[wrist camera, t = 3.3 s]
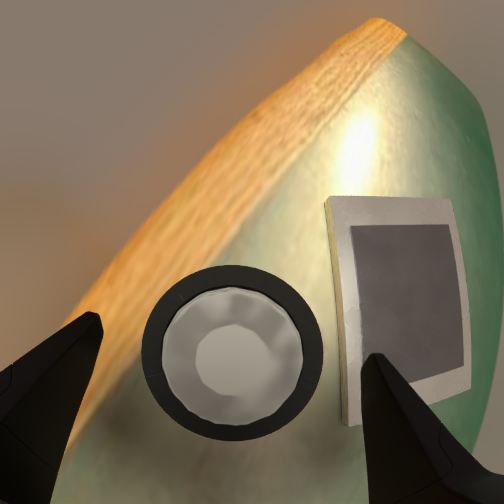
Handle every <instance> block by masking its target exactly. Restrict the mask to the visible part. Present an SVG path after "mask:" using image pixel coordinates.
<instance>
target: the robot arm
mask: <svg viewBox="0 0 504 504" xmlns="http://www.w3.org/2000/svg"><path fill="white" fill-rule="evenodd" d="M103 334H104V331H103V327H102V323H101V319H100V315H99V314H98V313H94V312H90V311H88V312H85V313H84V314H82V315H81V316H79V317H78V318H77V319H75V320H74V321H72V322H71V323H69V324H68V325H66V326H65V327H63V328H62V329H60V330H59V331H58V332H56V333H55V334H53V335H52V336H50V337H49V338H47V339H46V340H45V341H43V342H42V343H40V344H39V345H38V346H36V347H35V348H34V349H32V350H31V351H29V352H28V353H26V354H25V355H24V356H22V357H21V358H19V359H18V360H16V361H15V362H14V363H13V365H12V364H11V365H9V366H8V367H7V368H5V369H4V370H3V371H1V372H0V504H50V501H51V497H52V493H53V490H54V486H55V482H56V479H57V475H58V471H59V468H60V464H61V461H62V458H63V455H64V451H65V448H66V445H67V442H68V439H69V436H70V433H71V430H72V427H73V424H74V422H75V419H76V416H77V413H78V410H79V408H80V405H81V402H82V400H83V397H84V394H85V392H86V389H87V387H88V384H89V381H90V379H91V376H92V373H93V370H94V366H95V363H96V359H97V356H98V352H99V349H100V346H101V342H102V339H103ZM360 381H361V415H362V424H363V433H364V442H365V453H366V464H367V477H368V492H369V504H504V475H500V474H496V473H492V472H490V471H489V470H487V469H485V468H484V467H483V466H482V465H481V464H480V463H479V462H478V461H477V460H476V459H475V458H474V457H473V456H472V455H471V454H470V453H469V452H468V451H467V450H466V449H465V448H464V447H463V446H462V445H461V444H460V443H459V442H458V441H457V440H456V439H455V437H454V436H453V435H452V434H451V433H450V432H449V431H448V429H447V428H446V427H445V426H444V425H443V423H441V421H440V420H439V419H438V417H437V416H436V415H435V414H434V413H433V411H432V410H431V409H430V408H429V407H428V405H427V404H426V403H425V402H424V401H423V400H422V398H421V397H420V396H419V395H418V394H417V392H416V391H415V390H414V389H413V388H412V387H411V385H410V384H409V383H408V382H407V381H406V380H405V378H404V377H403V376H402V375H401V374H400V373H399V371H398V370H397V369H396V368H395V367H394V366H393V365H392V363H391V362H390V361H389V360H388V359H387V358H386V357H385V355H384V354H382V353H371V354H370V355H369V356H368V358H367V359H366V361H365V362H364V364H363V366H362V368H361V371H360Z"/></svg>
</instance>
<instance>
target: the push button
mask: <svg viewBox="0 0 504 504" xmlns="http://www.w3.org/2000/svg"><path fill="white" fill-rule="evenodd" d="M141 354H142V365H143V371H144V375H145V378H146V381H147V384H148V386H149V388H150V390H151V392H152V394H153V396H154V398H155V399H156V401H157V402H158V404H159V405H160V406H161V407H162V409H163V410H164V411H165V412H166V413H167V414H168V415H169V416H170V417H171V418H172V419H173V420H175V421H176V422H177V423H178V424H180V425H181V426H183V427H185V428H186V429H188V430H190V431H192V432H194V433H196V434H199V435H201V436H204V437H207V438H211V439H216V440H222V441H245V440H251V439H255V438H259V437H263V436H265V435H268V434H271V433H273V432H275V431H277V430H279V429H280V428H282V427H283V426H285V425H286V424H288V423H289V422H290V421H292V420H293V419H294V418H295V417H296V416H297V415H298V414H299V413H300V412H301V411H302V410H303V409H304V407H305V406H306V405H307V403H308V402H309V400H310V399H311V397H312V396H313V394H314V392H315V390H316V387H317V385H318V382H319V379H320V375H321V371H322V365H323V342H322V337H321V332H320V329H319V326H318V323H317V321H316V318H315V316H314V314H313V312H312V311H311V309H310V307H309V306H308V304H307V303H306V302H305V300H304V299H303V298H302V297H301V296H300V294H299V293H298V292H297V291H296V290H294V289H293V288H292V287H291V286H290V285H289V284H287V283H286V282H284V281H283V280H281V279H280V278H278V277H276V276H275V275H272V274H270V273H268V272H266V271H263V270H260V269H257V268H252V267H248V266H240V265H223V266H215V267H210V268H206V269H203V270H200V271H197V272H195V273H193V274H190V275H189V276H187V277H185V278H183V279H182V280H180V281H179V282H177V283H176V284H175V285H173V286H172V287H171V288H170V289H169V290H168V291H167V292H166V293H165V294H164V295H163V296H162V297H161V298H160V300H159V301H158V302H157V304H156V305H155V307H154V309H153V310H152V312H151V314H150V316H149V318H148V321H147V323H146V326H145V330H144V334H143V339H142V349H141Z"/></svg>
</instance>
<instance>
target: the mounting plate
mask: <svg viewBox="0 0 504 504" xmlns="http://www.w3.org/2000/svg"><path fill="white" fill-rule="evenodd" d="M324 205H325V212H326V219H327V227H328V234H329V242H330V250H331V259H332V268H333V277H334V287H335V298H336V309H337V322H338V336H339V352H340V372H341V403H342V422H343V423H344V424H345V425H347V426H348V427H351V426H356V425H360V424H362V415H361V381H360V371H361V368H362V366H363V364H364V362H365V361H366V359H367V358H368V356H369V355H370V354H371V353H382V354H384V355H385V357H386V358H387V359H388V360H389V361H390V362H391V363H392V365H393V366H394V367H395V368H396V369H397V370H398V371H399V373H400V374H401V375H402V376H403V377H404V378H405V380H406V381H407V382H408V383H409V384H410V385H411V387H412V388H413V389H414V390H415V391H416V392H417V394H418V395H419V396H420V397H421V398H422V400H423V401H424V402H425V403H426V404H427V405H429V404H432V403H435V402H438V401H441V400H443V399H446V398H449V397H451V396H454V395H456V394H459V393H461V392H464V391H466V390H468V389H471V332H470V316H469V304H468V294H467V285H466V277H465V270H464V264H463V257H462V251H461V246H460V240H459V235H458V230H457V226H456V221H455V217H454V212H453V208H452V204H451V200H450V199H433V198H410V197H377V196H329V197H328V199H327V200H326V201H325V203H324Z"/></svg>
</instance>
